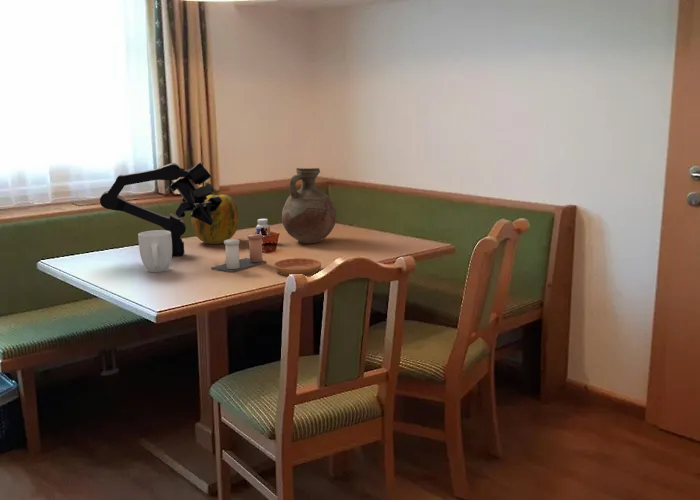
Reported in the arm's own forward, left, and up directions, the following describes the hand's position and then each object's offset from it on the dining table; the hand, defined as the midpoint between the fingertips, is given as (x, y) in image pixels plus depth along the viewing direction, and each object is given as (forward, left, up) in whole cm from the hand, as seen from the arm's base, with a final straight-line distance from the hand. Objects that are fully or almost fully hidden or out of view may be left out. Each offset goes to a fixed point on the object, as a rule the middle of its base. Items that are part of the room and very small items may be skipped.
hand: (211, 224), depth 268 cm
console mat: (+8, -16, -13) cm, 22 cm away
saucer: (+26, -30, -13) cm, 42 cm away
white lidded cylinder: (+5, -22, -13) cm, 25 cm away
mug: (-20, -14, -13) cm, 27 cm away
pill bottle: (+21, +20, -13) cm, 32 cm away
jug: (+39, +16, -13) cm, 44 cm away
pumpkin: (+3, +28, -13) cm, 31 cm away
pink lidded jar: (+14, -14, -13) cm, 24 cm away
